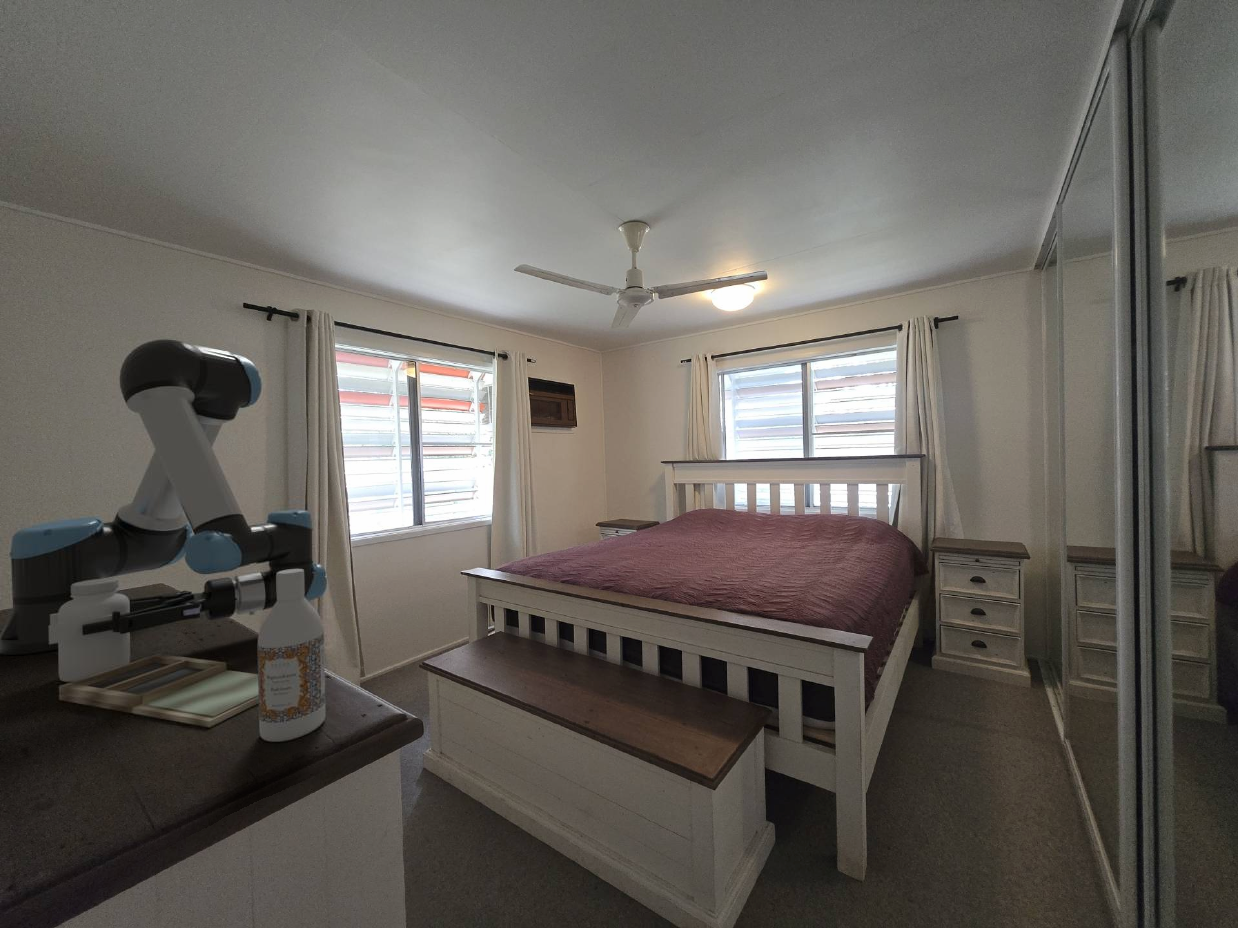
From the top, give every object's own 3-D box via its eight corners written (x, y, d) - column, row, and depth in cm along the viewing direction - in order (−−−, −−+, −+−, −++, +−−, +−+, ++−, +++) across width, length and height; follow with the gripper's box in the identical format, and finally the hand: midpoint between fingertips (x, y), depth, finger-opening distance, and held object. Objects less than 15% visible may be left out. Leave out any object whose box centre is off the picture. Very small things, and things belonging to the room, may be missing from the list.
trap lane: (59, 699, 69) (59, 685, 69) (158, 665, 81) (158, 653, 81) (209, 727, 61) (209, 711, 61) (295, 684, 73) (295, 671, 73)
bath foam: (247, 747, 57) (243, 579, 56) (275, 717, 63) (272, 567, 63) (313, 739, 58) (309, 575, 58) (333, 710, 65) (330, 563, 65)
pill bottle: (140, 666, 81) (138, 578, 81) (70, 687, 73) (68, 589, 73) (118, 659, 84) (116, 574, 84) (49, 678, 77) (47, 585, 77)
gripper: (246, 626, 85) (48, 670, 68) (222, 605, 99) (51, 637, 82) (245, 585, 85) (47, 618, 68) (221, 569, 99) (50, 593, 82)
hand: (49, 628), depth 75 cm, fingers closed on pill bottle, 8 cm apart
